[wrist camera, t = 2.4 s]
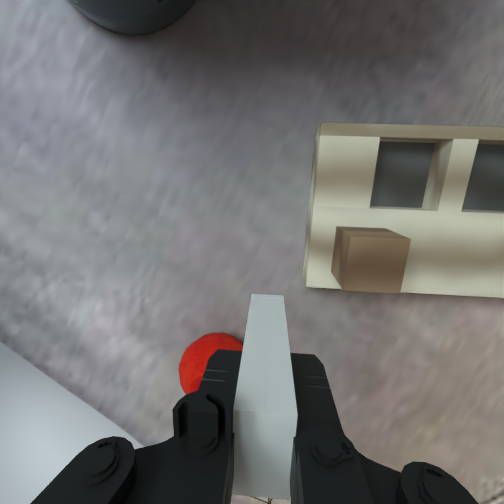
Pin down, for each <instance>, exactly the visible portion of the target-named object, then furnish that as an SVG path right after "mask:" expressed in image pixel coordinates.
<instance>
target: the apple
mask: <svg viewBox="0 0 504 504" xmlns="http://www.w3.org/2000/svg"><path fill="white" fill-rule="evenodd" d="M217 349H224V350H239V351H243V345H242V344H241V342H240V341H239V340H237V339H236V338H234V337H233V336H231V335H228V334H225V333H211V334H207V335H204V336H203V337H201V338H199V339H198V340H196V341H195V342H193V343H192V344H191V345H190V346H189V347H188V348H187V349H186V350H185V352H184V354H183V356H182V359H181V361H180V364H179V375H180V383H181V386H182V389H183V390H184V392H185V394H186V395H187V394H189V393H191V392H194V391H197V390H198V389H199V386H200V383H201V380H202V377H203V374H204V371H205V368H206V365H207V362H208V360H209V357H210V356H211V355H212V354H213V353H214V352H215V351H216V350H217Z"/></svg>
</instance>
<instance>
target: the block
mask: <svg viewBox="0 0 504 504" xmlns="http://www.w3.org/2000/svg"><path fill="white" fill-rule="evenodd" d="M410 242H411V239H410V238H407V237H405V236H403V235H400V234H398V233H396V232H393V231H391V230H389V229H386V228H368V227H344V226H336V233H335V241H334V250H333V258H332V266H331V273H332V274H333V276H334V277H335V279H336V280H337V282H338V283H339V285H340V286H341V288H342V289H343V291H361V292H379V293H397V294H400V292H401V287H402V282H403V277H404V272H405V267H406V262H407V257H408V252H409V247H410Z"/></svg>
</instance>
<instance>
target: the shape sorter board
mask: <svg viewBox="0 0 504 504" xmlns="http://www.w3.org/2000/svg"><path fill="white" fill-rule="evenodd" d="M336 226H344V227H368V228H386V229H389V230H391V231H393V232H396V233H398V234H400V235H403V236H405V237H407V238H410V239H411V242H410V247H409V252H408V257H407V262H406V267H405V272H404V277H403V282H402V287H401V292H406V293H424V294H442V295H461V296H479V297H497V298H504V127H494V126H449V125H404V124H358V123H321V124H320V125H319V126H318V127H317V128H316V131H315V142H314V154H313V165H312V176H311V187H310V198H309V209H308V220H307V231H306V242H305V254H304V265H303V279H304V282H305V285H306V287H315V288H333V289H342V288H341V286H340V285H339V283H338V282H337V280H336V279H335V277H334V276H333V274H332V273H331V266H332V258H333V250H334V241H335V233H336Z"/></svg>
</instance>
